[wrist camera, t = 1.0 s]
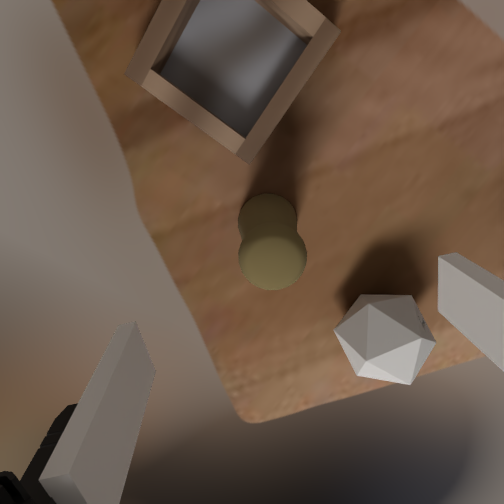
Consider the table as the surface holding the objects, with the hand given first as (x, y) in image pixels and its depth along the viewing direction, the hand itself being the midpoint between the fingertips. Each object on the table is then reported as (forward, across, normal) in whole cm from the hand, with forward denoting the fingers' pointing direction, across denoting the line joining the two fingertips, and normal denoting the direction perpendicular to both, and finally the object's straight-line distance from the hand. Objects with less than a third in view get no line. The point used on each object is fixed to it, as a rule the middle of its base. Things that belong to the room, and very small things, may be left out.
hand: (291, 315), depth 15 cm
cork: (+21, -1, +2) cm, 21 cm away
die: (+20, -10, +15) cm, 27 cm away
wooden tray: (+21, -1, -12) cm, 24 cm away
